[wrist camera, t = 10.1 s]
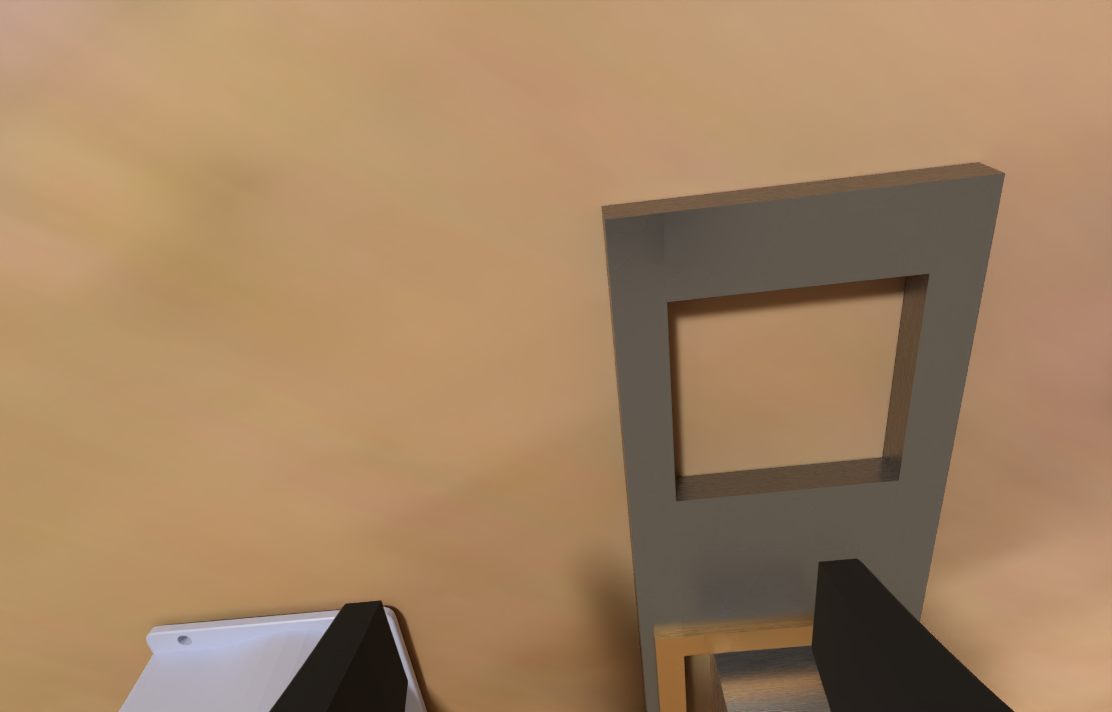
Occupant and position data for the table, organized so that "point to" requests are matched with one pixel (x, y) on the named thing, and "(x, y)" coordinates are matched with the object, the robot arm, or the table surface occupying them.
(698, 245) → the rail
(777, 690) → the metal block with knob
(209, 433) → the table surface
